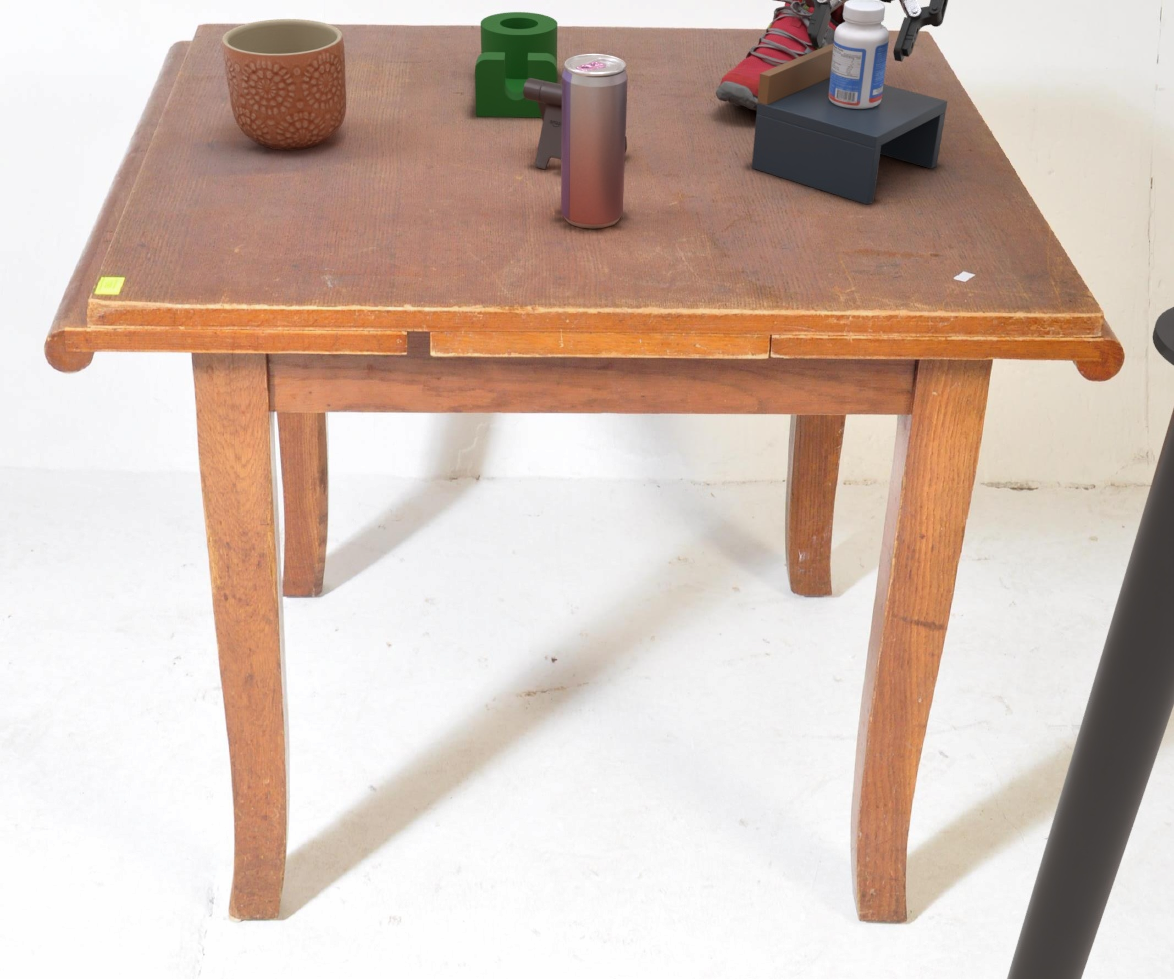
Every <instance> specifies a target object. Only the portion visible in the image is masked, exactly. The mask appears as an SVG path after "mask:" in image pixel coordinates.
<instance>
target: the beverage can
mask: <svg viewBox="0 0 1174 979" xmlns="http://www.w3.org/2000/svg"><path fill="white" fill-rule="evenodd" d="M563 64H564V65H563V67H564V68H563V71H562V74H561V85H562V144H561V161H560V162H561V164H560V212H561V215H562V216H563V218H564V220H565V222H567V223H568V224H569V225H572V226H575V227H578V228H583V229H592V230H593V229H604V228H607V227H611V226H613V225H615V224H616V223H618V221H619V220H620V219H621V217H622V216H623V214H624V193H625V163H626V153H625V139H626V138H627V135H626V134H627V110H628V109H627V106H628V103H627V102H628V80H629V79H628V78H629V76H628V72H627V69H626V68H627V63H626V62H625V60H624V59H622V58H620V57H617V56H615V55H611V54H610V55H609V54H605V53H603V54H602V53H583V54H577V55H573V56H571V57H569V58H567V59H565V61H564V63H563Z"/></svg>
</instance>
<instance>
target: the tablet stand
mask: <svg viewBox="0 0 1174 979" xmlns="http://www.w3.org/2000/svg"><path fill="white" fill-rule="evenodd" d="M523 95H524V97H525V99H527V100H532V101H537V102H538V106H539V109H540V113H541V117H540V118H541V122H542V125H541V130H540V134H539V139H538V140H539V141H538V145H537V151H536V155H535V160H534V166H535V167H536V168H538V169H541V170H547V168H548V165H549V162H550V160H551V159H555V160H556V159H558V160H561V144H562V83H558V82H557V83H552V82H547V81H542V80H538V79H533V78H529V79H527V80H526V82H525V84H524V88H523ZM627 141H628V140H627V137H626V139H625V154H626V153H627V149H628V144H627V143H628V142H627Z"/></svg>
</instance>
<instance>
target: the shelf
mask: <svg viewBox="0 0 1174 979" xmlns="http://www.w3.org/2000/svg"><path fill="white" fill-rule="evenodd" d="M832 54H833V44H830V45H828V46H826V47H823V48H821V49H818V50H816V51H813V52H811V53H809V54H806V55H804V56H801V57H799V58H796V59H794V60H792V61H789V62H787V63H784V64H782V65H779V66H777V67H775V68H772V69H770V70H767V71H765V72H762V73H760V79H759V90H758V101H757V102H758V103H757V111H756V116H755V126H754V136H753V147H752V148H753V149H752V160H751V169H754V170H757V171H760V172H764V173H766V174H769V175H772V176H776V177H779V178H781V179H786V180H788V181H792V182H794V183H798V184H801V185H804V186H807V187H811V188H814V189H817V190H820V191H822V192H826V193H830V194H833V195H835V196H839V197H842V198H845V199H848V200H852V201H854V202H857V203H861V204H864V205H869V204H871V203H873V202H874V200H875V193H876V185H877V178H878V172H879V171H878V170H879V163H880V156H881V155H883V156H886V157H890V158H893V159H896V160H900V161H904V162H907V163H911V164H913V165H918V166H920V167H924V168H928V169H931V170H932V169H934V168H936V167H937V166H938V161H939V155H940V150H941V143H942V136H943V133H944V132H943V131H944V127H945V126H944V124H945V120H946V112H947V107H948V101H947V100H946V99H945V100H944V99H940V98H937V97H933V96H929V95H926V94H922V93H919V92H914V91H911V90H908V89H907V90H906V89H903V88H900V87H895V86H891V85H888V84H885V83H884V84H883V92H882V99H881V102H880V103H879V104H878V105H877V106H875V107H872V108H868V109H851V108H844V107H840V106H837V105H835V104H833V103H832V102H831V101H830V100H829V85H830V75H831V64H832Z"/></svg>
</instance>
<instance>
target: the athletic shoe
mask: <svg viewBox="0 0 1174 979" xmlns="http://www.w3.org/2000/svg"><path fill="white" fill-rule="evenodd" d="M773 1H775V2H781V3H784V5H783V6H779V7H776V8H775V9H774V10H773V17H772V21H771V22H770V23H769V24H768V26H767V28H766V31H765V33H764V34H762V35H761V36H760V37H759V39H758V44H757V45H754V46H751V47H750V48H749V50H748V52H747V54H746V55H745V58H744V59H743V60H741V61H740V62H739V63H738V64H737V65H736V66H735V67H734V68H732V69H731V70H729V71H728V72H727V73H726V74H725V75H724V76H723V77H721V79H720V80H721V81H720V84H719V86H717V88H716V90H715V96H716V98H717V100H719V101H721V102H728V103H729V104H732V105H735V106H743V107H745V108H747V109H749V110H751V111H756V112H757V103H758V102H757V101H758V90H759V79H760V73H762V72H765V71H767V70H770V69H772V68H775V67H777V66H779V65H782V64H784V63H787V62H789V61H792V60H794V59H796V58H799V57H801V56H804V55H806V54H809V53H811V52H813V51H816V50H818V49H821V48H823V47H826V46H828V45H830V44H833V43H834V34H835V30H836V28H837V27H838V26H839V25H840V24H842V23H844V22H845V20H844V18H843V11H844V4H842V5H841V6H839V7H838V8H837V9H835V10H834V11H833V12H831V13H830V15H831V18H830V21H829V24H828V27H827V30H826V33H825V36H824V39H823V42H822V45H821V47H820V48H817V47H813V46H812V43H811V41H810V40H809V36H808V32H807V28H808V25H809V22H810V19H811V16H812V13H813V10H814V8H813V7H807V6H806V4H805V1H804V0H773Z"/></svg>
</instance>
